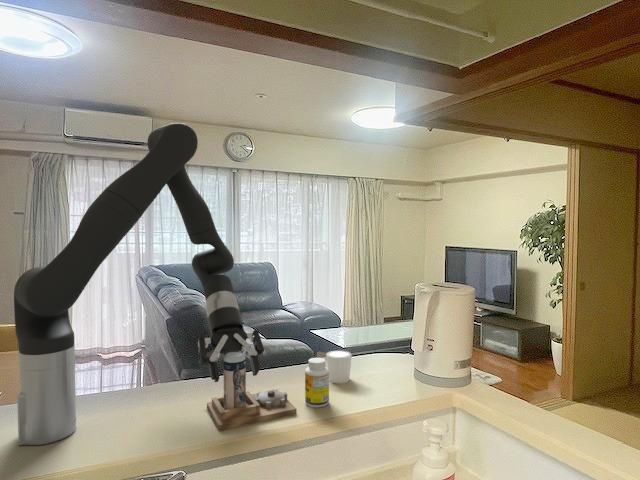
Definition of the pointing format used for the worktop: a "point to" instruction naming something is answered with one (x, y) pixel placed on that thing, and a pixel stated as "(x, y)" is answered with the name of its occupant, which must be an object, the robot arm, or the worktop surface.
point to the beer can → (234, 380)
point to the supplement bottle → (316, 383)
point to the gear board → (251, 409)
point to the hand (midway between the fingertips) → (236, 377)
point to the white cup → (339, 366)
